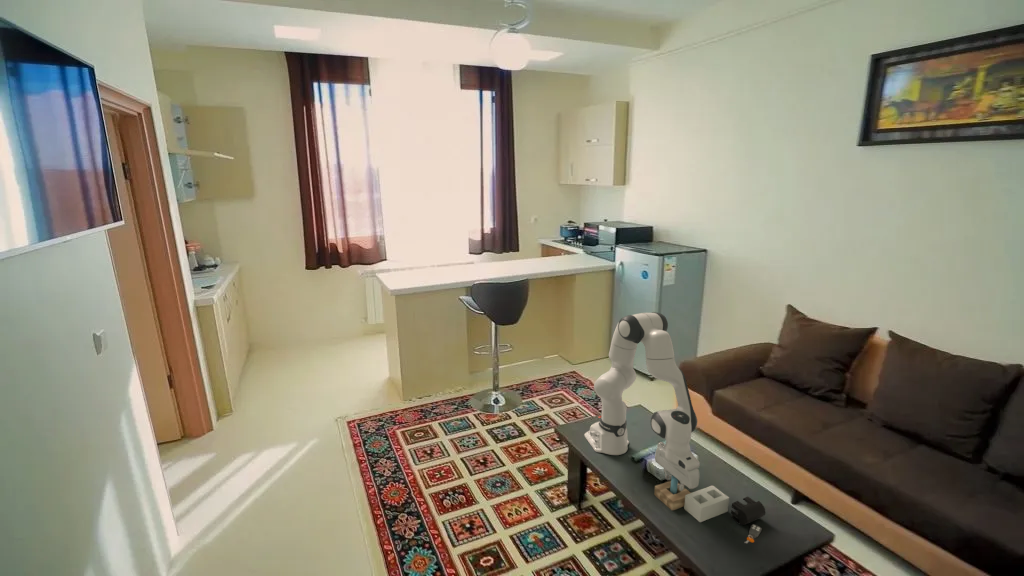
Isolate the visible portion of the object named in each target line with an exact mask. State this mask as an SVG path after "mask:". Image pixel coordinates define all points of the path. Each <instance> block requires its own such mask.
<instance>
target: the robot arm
mask: <svg viewBox="0 0 1024 576" xmlns="http://www.w3.org/2000/svg"><path fill="white" fill-rule="evenodd" d="M668 324H669V323H668V320H667V318H666V316H665V315H664V314H662V313H661V312H656V311H653V312H640V313H635V314H628V315H624V316H623V317H622V318H620V319H619V321H618V322H617V324H616V327H615V330H614V332H613V335H612V338H611V342H610V346H609V347H610V348H609V352H608V358H609V361H611V367H610V368H609V370H608V371H606V372H604V373H603V374H601V375H600V376H599V377H598V378H597V379H596V380H595V381H594V384H593V390H594V392H595V394H596V395H597V396H598V397H599V398H600V402H601V415H598V418H597V419H598V420H599V421H596V422H594V423H592V424H591V426H590V427H589V430H588V431H586V432H585V433H584V435H583V436H584V438H585V439H586V440H587V441H588V442H587V443H589V444H590V447H592V449H593V450H594V451H595V452H596V453H602V454H606V455H611V456H619V455H623V454H625V453H626V452H627V451H628V445H630V441H629V440H628V428H627V426H628V425H627V404H626V402H625V401H624V400H623V397H622V396H623V393H624V392H625V391H626V390H627V389H629V388H631V386H632V385H633V384H634V383H635V382H636V379H637V373H636V371H635V369H634V361H635V355H636V351H637V348H638V344H640V342H641V343H642V345H643V346H644V349H645V362H646V363H645V365H646V369H647V372H648V373H649V374H650V376H652V377H654V378H655V379H656V380H659V381H663V382H666V383H669V384H671V386H672V387H673V389H674V390H673V391H674V393H675V398H676V402H677V407H676V408H672V409H664V410H658V411H655V412H653V413H652V415H651V417H650V427H651V430H652V431H653V432H654V434H656V435H657V436H659V437H660V438H662V439H665V443H664V442H663V441H658V442H657V447H656V450H655V455H654V460H655V463H657V464H658V465H659V466H660V467H662V469H663V472H664V476H665V477H664V478H665V480H667V482H669V481H671V477H672V475H673V476H674V477H675V478H677V479H678V482H679V484H680V485H678V489H679V490H680V491H682V490H683V489H684V488H685V487H687V488H688V489H690V490H693V489H695V488H697V487H699V484H700V470H699V467H700V465H701V463H700V461H699V460H698V459H697V457H696V456H695V455H694V454H693V452H692V451H691V446H690V442H691V439H692V433H693V432H694V431H695V430H696V428H697V426H698V418H697V415H696V412H695V410H694V407H693V403H692V399H691V395H690V392H689V386H688V383H687V379H686V376H685V374H684V372H683V370H682V369H680V368H679V366H678V365H677V362H676V357H675V351H674V345H673V341H672V337H671V335H670V334H669V332H668V328H669V325H668Z"/></svg>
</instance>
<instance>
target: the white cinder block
mask: <svg viewBox="0 0 1024 576" xmlns="http://www.w3.org/2000/svg"><path fill="white" fill-rule="evenodd" d="M729 504H730V497H729V496H728V495H727V494H725V493H723V492H722V491H721V490H720V489H718V488H717V487H716V486H714V485H710V486H707V487H704V488H701V489H698V490H695V491H693V492H690V494H687V495H685V505H684V507H683V508H684V510H685V511H686V512H687V513H688V514H690V515H691V516H692V518H694V519H696V520H697V521H698V522H699V523H702V522H704V521H706V520H707V521H708V520H709V519H712V518H716V517H718V516H721V515H722V514H725V513H727V512H729V511H728V510H729Z"/></svg>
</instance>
